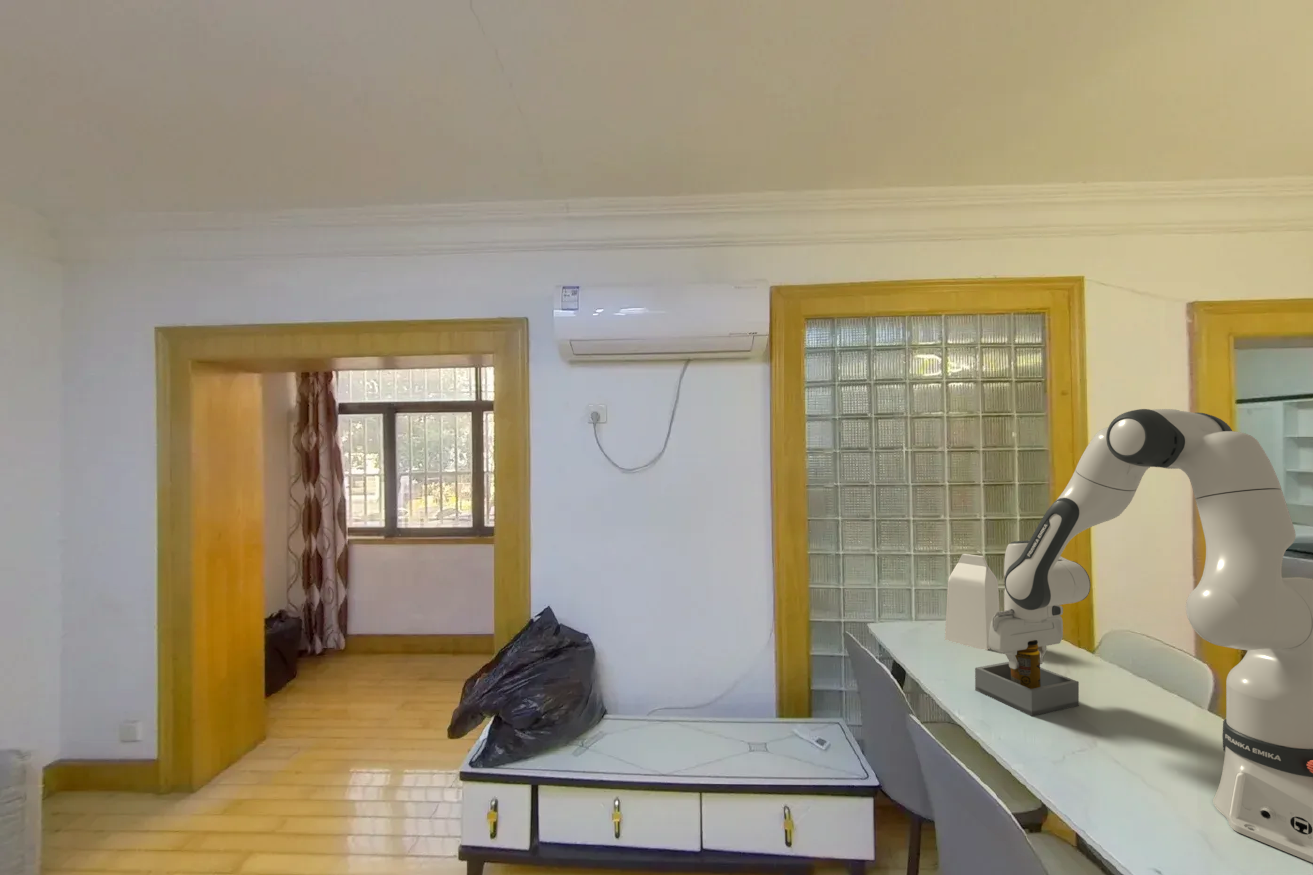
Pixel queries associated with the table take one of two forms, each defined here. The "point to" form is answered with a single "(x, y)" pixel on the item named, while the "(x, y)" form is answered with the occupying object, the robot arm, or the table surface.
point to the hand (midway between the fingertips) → (1025, 666)
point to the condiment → (1028, 667)
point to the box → (1027, 690)
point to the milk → (971, 602)
